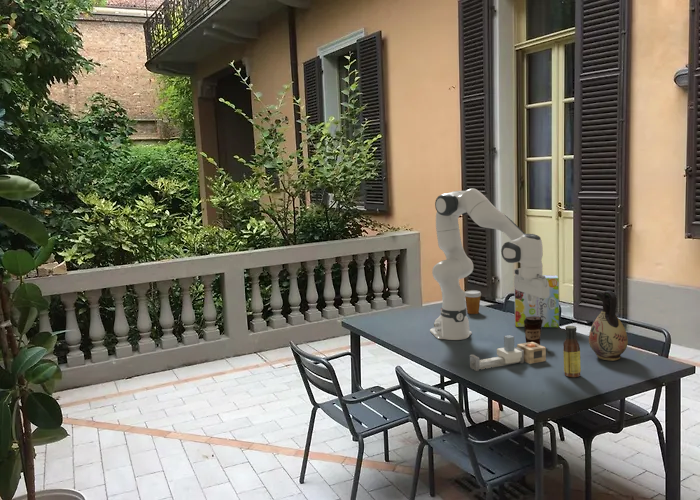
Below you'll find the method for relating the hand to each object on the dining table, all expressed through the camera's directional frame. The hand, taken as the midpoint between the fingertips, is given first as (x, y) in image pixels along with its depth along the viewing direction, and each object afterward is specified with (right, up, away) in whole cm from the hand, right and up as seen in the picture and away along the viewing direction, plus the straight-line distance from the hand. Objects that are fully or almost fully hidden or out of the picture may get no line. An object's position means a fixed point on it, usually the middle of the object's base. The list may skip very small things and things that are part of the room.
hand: (531, 304), depth 259 cm
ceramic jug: (+33, -23, +1) cm, 40 cm away
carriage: (-9, -24, 0) cm, 26 cm away
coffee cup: (+7, -21, +22) cm, 32 cm away
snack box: (+19, -16, +54) cm, 59 cm away
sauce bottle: (+11, -27, -17) cm, 34 cm away
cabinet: (+1, -24, +3) cm, 24 cm away
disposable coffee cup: (-8, -12, +84) cm, 85 cm away
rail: (-15, -25, -2) cm, 30 cm away
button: (+1, -22, +3) cm, 23 cm away
